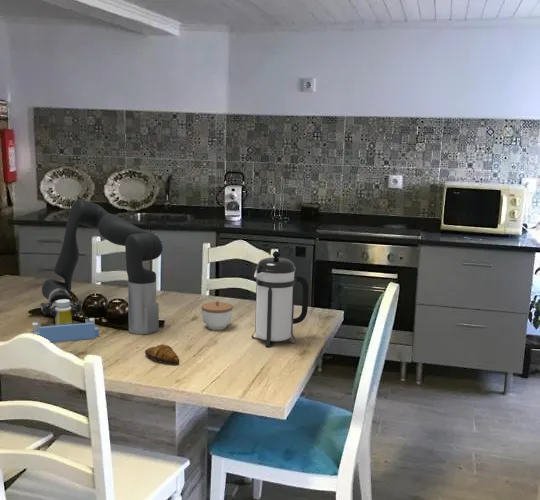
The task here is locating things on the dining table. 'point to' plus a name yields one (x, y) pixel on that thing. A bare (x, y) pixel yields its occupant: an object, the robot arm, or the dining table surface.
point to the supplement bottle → (63, 312)
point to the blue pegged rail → (67, 331)
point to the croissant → (162, 354)
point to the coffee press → (277, 299)
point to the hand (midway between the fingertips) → (64, 313)
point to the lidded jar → (217, 314)
